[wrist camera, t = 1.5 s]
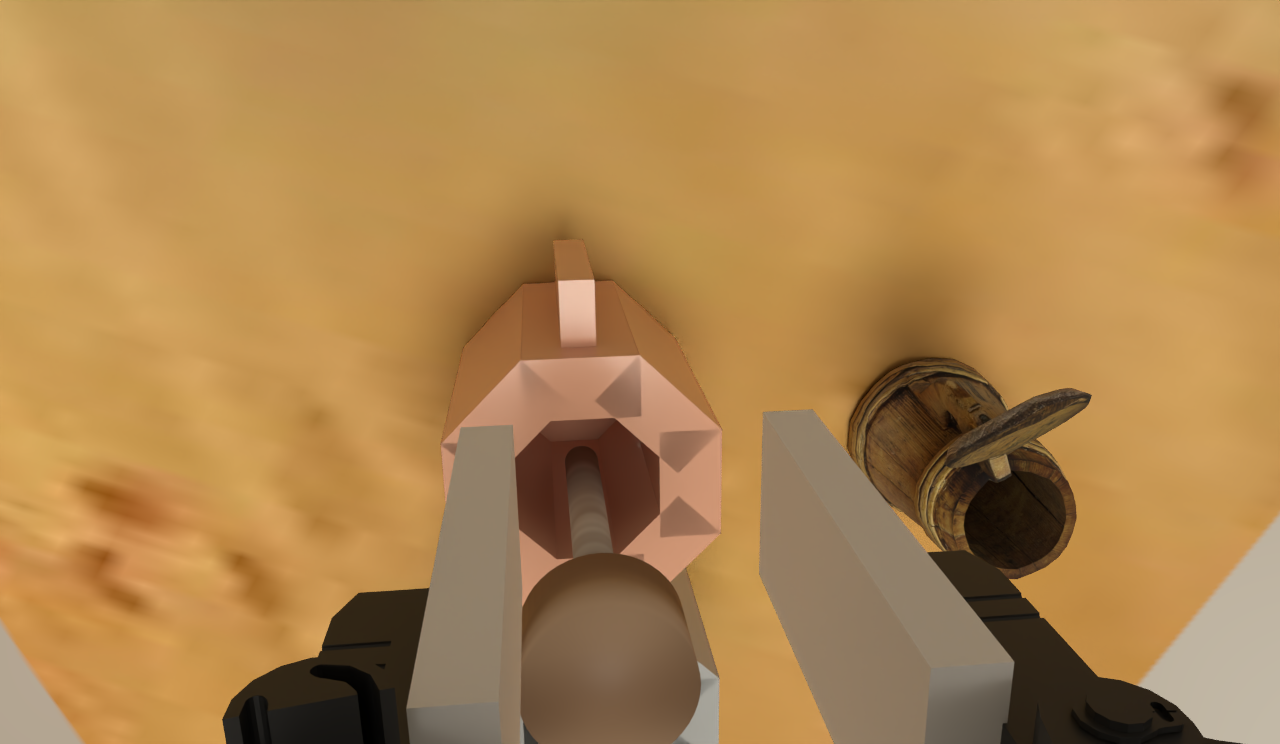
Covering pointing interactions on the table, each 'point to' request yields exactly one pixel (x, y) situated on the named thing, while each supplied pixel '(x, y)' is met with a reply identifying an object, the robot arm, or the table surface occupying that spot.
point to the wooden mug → (969, 462)
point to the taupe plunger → (604, 638)
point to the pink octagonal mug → (593, 418)
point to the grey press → (704, 726)
